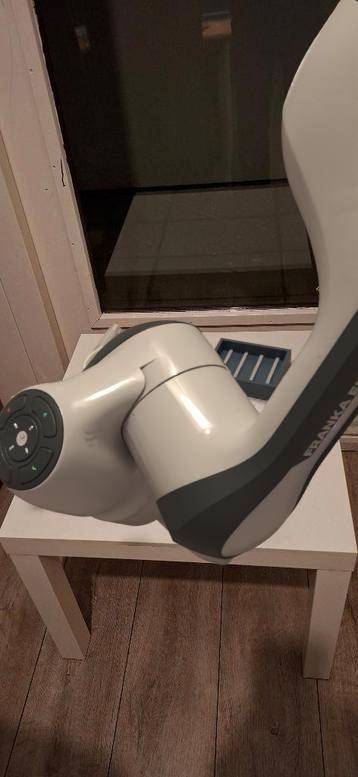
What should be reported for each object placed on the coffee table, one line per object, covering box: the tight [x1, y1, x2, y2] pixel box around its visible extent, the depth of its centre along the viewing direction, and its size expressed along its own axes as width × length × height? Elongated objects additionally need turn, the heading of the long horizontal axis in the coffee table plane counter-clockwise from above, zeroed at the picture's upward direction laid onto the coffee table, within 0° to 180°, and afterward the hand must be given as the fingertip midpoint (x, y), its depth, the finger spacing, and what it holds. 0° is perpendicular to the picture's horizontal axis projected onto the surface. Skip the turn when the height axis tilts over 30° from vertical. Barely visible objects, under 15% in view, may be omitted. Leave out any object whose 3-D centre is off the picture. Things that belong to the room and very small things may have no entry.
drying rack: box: [214, 337, 292, 401], centre depth 98 cm, size 14×11×4 cm
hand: (186, 495), depth 62 cm, fingers open, 8 cm apart
